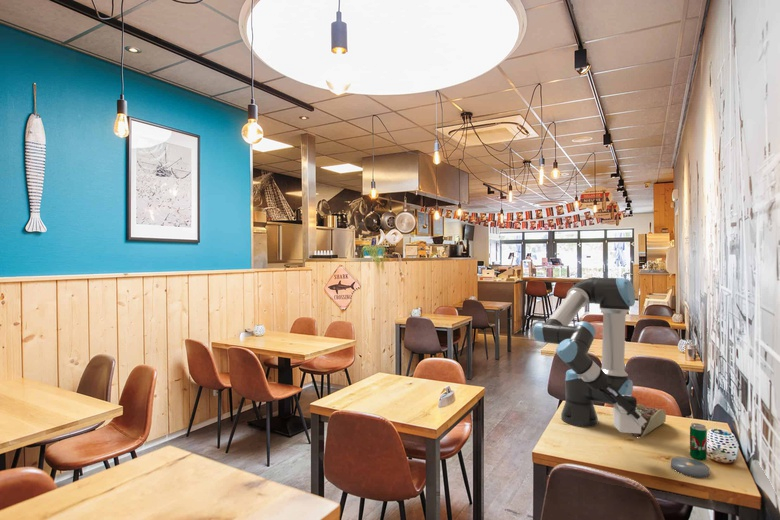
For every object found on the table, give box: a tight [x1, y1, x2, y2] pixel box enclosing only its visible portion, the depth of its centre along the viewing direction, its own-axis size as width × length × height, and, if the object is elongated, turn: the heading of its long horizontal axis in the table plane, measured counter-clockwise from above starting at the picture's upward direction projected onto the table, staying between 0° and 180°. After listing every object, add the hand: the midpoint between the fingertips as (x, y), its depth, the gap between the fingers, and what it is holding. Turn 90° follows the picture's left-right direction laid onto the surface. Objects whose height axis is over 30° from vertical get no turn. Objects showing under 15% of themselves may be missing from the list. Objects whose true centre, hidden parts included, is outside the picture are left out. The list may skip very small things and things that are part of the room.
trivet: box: [670, 456, 711, 479], centre depth 150 cm, size 11×11×2 cm
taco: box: [629, 403, 667, 439], centre depth 187 cm, size 10×27×10 cm, turn 130°
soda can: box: [689, 422, 708, 461], centre depth 160 cm, size 5×5×12 cm
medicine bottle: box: [612, 395, 641, 434], centre depth 159 cm, size 7×7×12 cm
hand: (636, 418), depth 159 cm, fingers closed on medicine bottle, 8 cm apart
